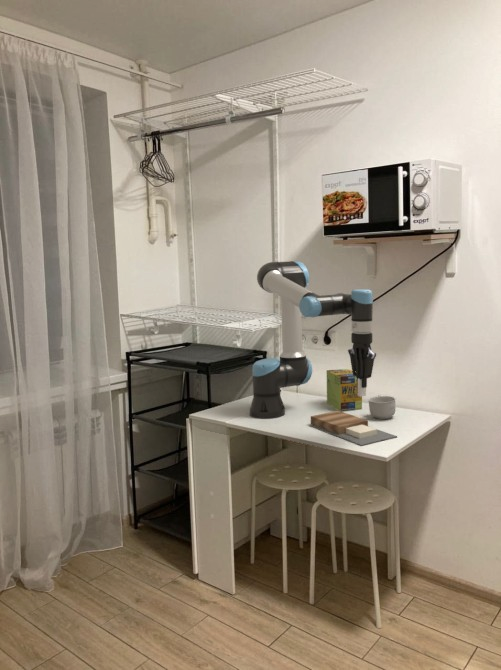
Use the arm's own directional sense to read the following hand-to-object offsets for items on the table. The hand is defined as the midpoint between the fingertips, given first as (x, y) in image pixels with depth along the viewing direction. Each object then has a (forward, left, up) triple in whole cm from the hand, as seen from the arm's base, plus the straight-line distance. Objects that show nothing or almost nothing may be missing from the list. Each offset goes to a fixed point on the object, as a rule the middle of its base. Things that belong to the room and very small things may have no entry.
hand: (361, 395), depth 213 cm
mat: (-6, 0, -15) cm, 16 cm away
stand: (-14, 0, -15) cm, 20 cm away
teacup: (-15, +23, -15) cm, 32 cm away
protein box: (-37, +21, -15) cm, 45 cm away
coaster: (0, 0, -15) cm, 15 cm away
